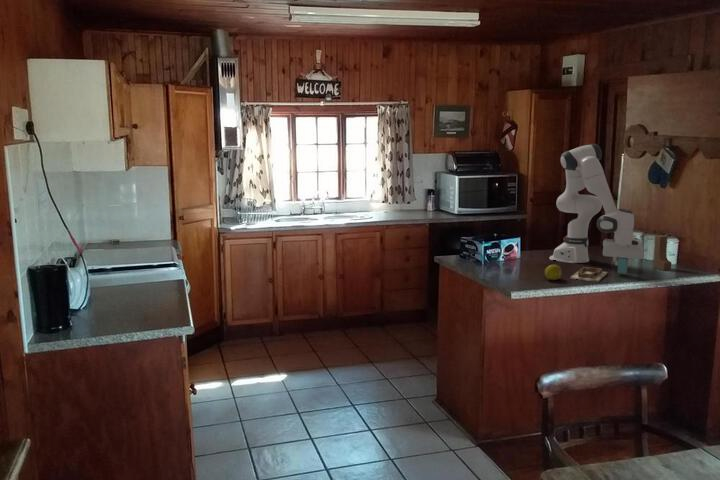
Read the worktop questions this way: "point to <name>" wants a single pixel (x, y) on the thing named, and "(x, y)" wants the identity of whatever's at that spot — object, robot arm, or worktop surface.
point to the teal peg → (622, 265)
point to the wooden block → (661, 253)
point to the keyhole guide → (589, 274)
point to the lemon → (553, 272)
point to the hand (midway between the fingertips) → (622, 265)
